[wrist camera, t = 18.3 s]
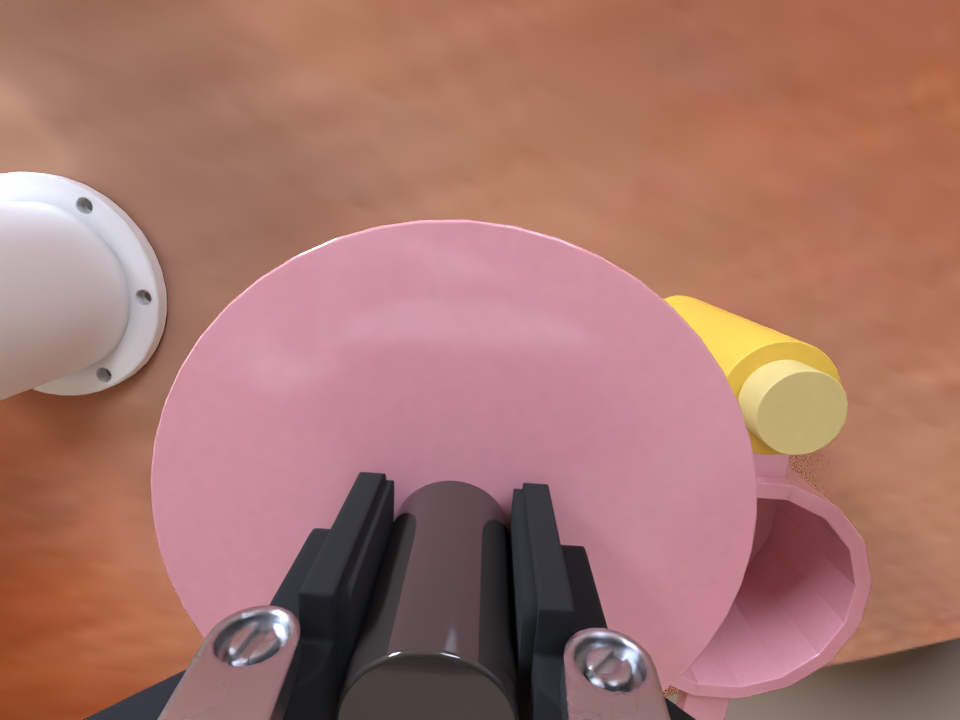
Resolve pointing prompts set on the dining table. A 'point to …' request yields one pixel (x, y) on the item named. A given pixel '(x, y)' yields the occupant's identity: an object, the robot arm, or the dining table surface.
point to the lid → (457, 452)
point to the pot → (783, 597)
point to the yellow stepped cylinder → (771, 380)
